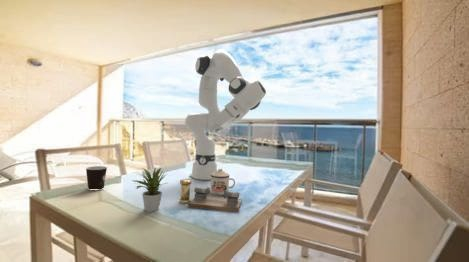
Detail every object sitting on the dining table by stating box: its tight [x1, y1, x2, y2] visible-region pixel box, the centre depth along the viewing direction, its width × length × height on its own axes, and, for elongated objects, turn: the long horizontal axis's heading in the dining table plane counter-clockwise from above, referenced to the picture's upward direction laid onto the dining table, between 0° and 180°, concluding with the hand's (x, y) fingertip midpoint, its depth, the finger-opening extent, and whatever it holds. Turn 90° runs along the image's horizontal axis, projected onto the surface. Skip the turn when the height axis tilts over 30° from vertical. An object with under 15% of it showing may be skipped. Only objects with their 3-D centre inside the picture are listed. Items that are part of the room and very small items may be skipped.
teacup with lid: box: [210, 168, 236, 196], centre depth 122 cm, size 12×9×12 cm
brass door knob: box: [178, 178, 192, 205], centre depth 106 cm, size 5×5×9 cm
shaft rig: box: [187, 186, 243, 213], centre depth 104 cm, size 12×20×7 cm, turn 81°
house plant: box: [132, 166, 168, 213], centre depth 97 cm, size 14×14×16 cm
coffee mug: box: [85, 165, 108, 190], centre depth 120 cm, size 12×9×10 cm
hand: (212, 131), depth 113 cm, fingers open, 8 cm apart
